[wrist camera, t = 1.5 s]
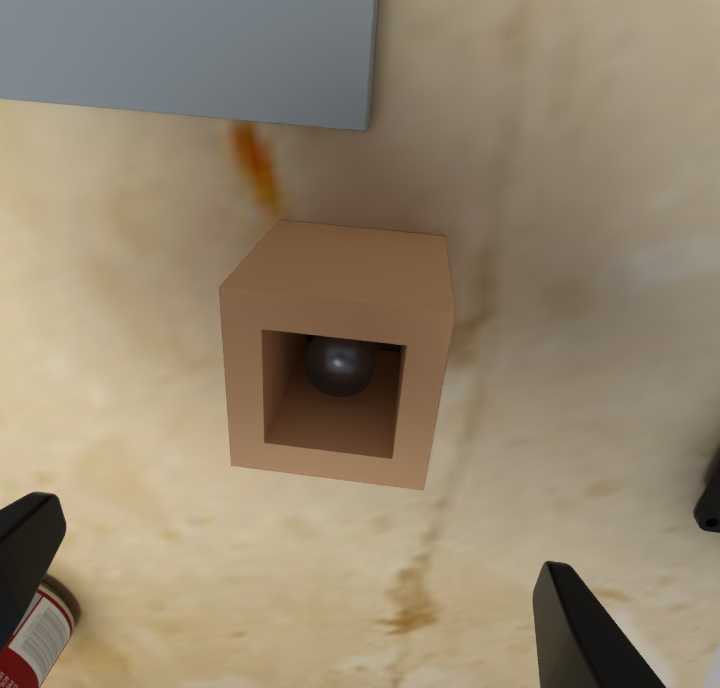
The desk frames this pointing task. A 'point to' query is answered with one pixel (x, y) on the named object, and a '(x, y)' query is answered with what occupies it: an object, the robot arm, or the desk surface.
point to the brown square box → (341, 320)
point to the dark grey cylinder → (340, 365)
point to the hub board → (195, 57)
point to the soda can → (36, 641)
